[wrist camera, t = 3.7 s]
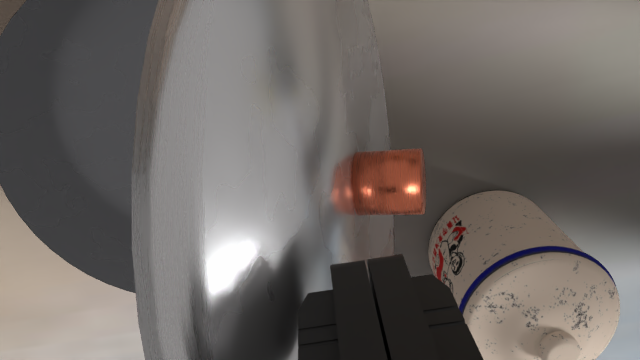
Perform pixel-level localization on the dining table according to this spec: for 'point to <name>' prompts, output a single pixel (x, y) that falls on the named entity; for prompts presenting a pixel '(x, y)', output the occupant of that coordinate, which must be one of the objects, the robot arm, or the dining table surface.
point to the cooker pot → (74, 126)
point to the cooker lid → (258, 170)
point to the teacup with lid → (522, 281)
